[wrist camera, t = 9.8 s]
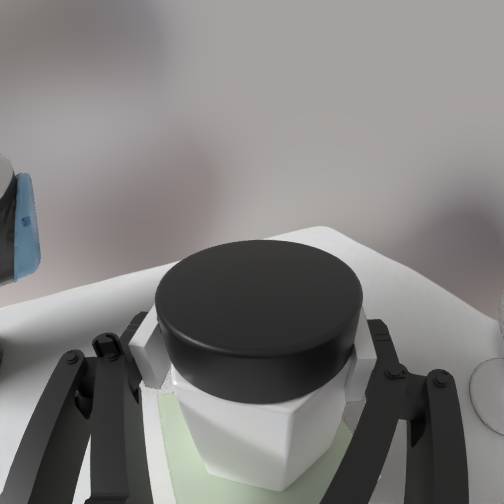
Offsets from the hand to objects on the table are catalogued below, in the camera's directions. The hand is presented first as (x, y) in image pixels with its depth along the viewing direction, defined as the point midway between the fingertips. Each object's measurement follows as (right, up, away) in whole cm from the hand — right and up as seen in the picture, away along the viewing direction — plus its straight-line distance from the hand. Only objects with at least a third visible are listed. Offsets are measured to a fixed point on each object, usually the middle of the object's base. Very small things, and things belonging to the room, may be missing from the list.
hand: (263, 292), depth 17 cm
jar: (0, -10, 0) cm, 10 cm away
